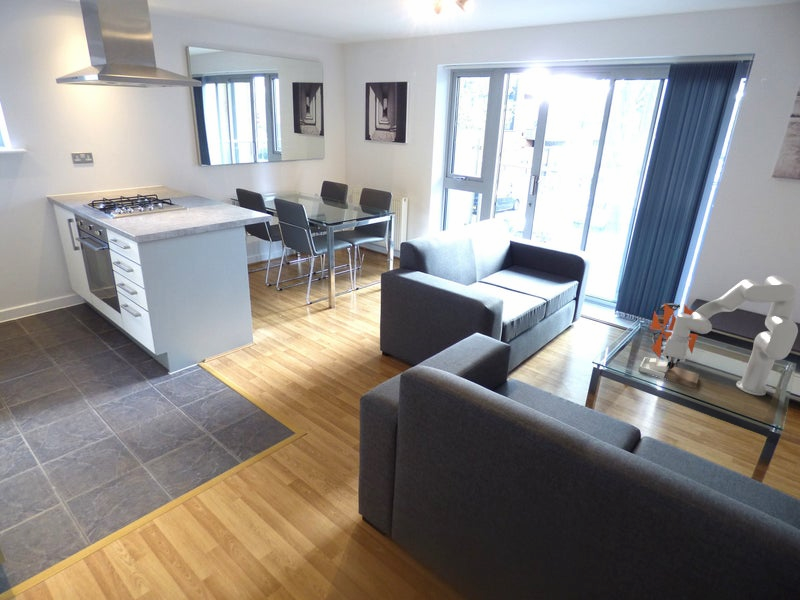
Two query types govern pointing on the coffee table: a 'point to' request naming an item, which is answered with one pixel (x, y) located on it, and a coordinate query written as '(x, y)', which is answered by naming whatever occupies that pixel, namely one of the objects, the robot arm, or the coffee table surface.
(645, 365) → the tray
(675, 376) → the brown wooden box
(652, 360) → the tile far
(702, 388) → the coffee table surface
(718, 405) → the coffee table surface
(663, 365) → the cream rectangular block
